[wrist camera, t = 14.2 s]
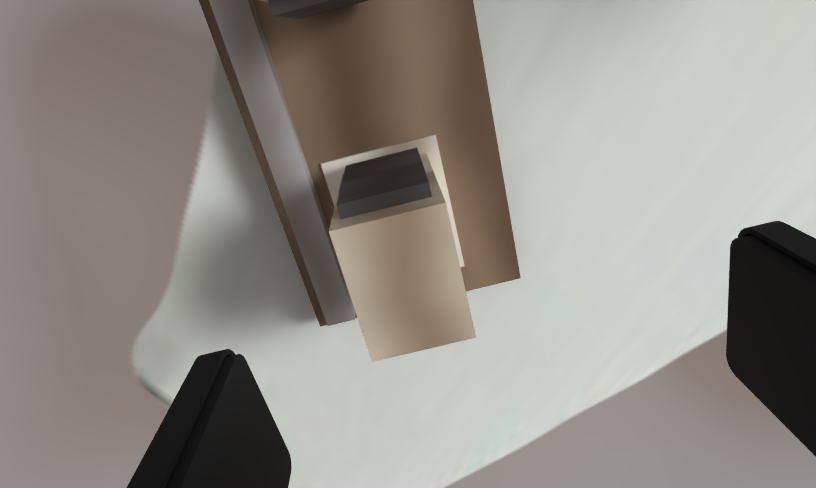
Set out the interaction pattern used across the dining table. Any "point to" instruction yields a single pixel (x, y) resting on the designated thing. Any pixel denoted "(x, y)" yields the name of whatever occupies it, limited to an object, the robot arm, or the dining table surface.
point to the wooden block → (399, 256)
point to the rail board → (366, 119)
